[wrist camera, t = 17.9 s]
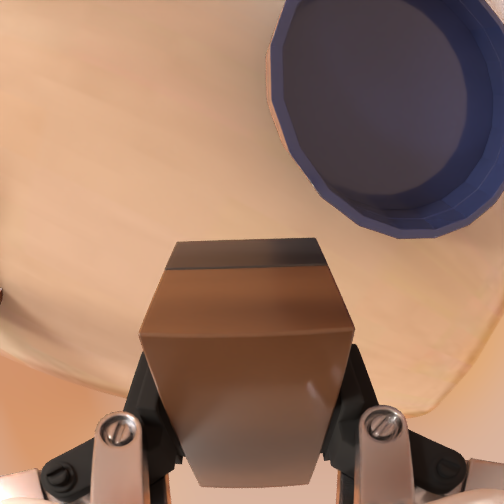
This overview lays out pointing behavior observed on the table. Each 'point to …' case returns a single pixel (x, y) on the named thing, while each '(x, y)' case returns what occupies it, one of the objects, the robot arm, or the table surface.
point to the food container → (1, 295)
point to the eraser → (248, 357)
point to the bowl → (393, 108)
